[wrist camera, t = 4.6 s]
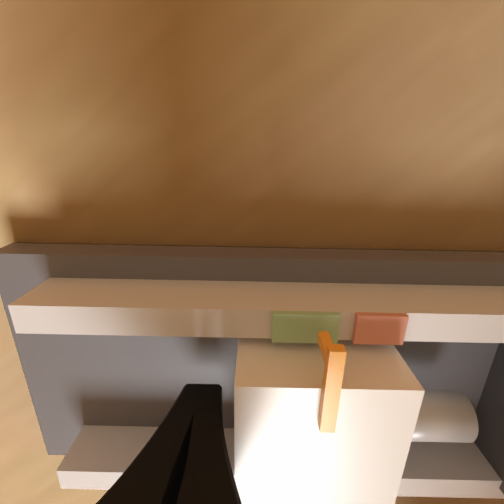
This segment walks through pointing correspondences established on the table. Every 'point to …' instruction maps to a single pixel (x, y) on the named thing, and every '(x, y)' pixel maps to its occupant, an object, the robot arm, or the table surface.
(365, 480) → the gauge carriage
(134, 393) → the gauge base
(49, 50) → the table surface
